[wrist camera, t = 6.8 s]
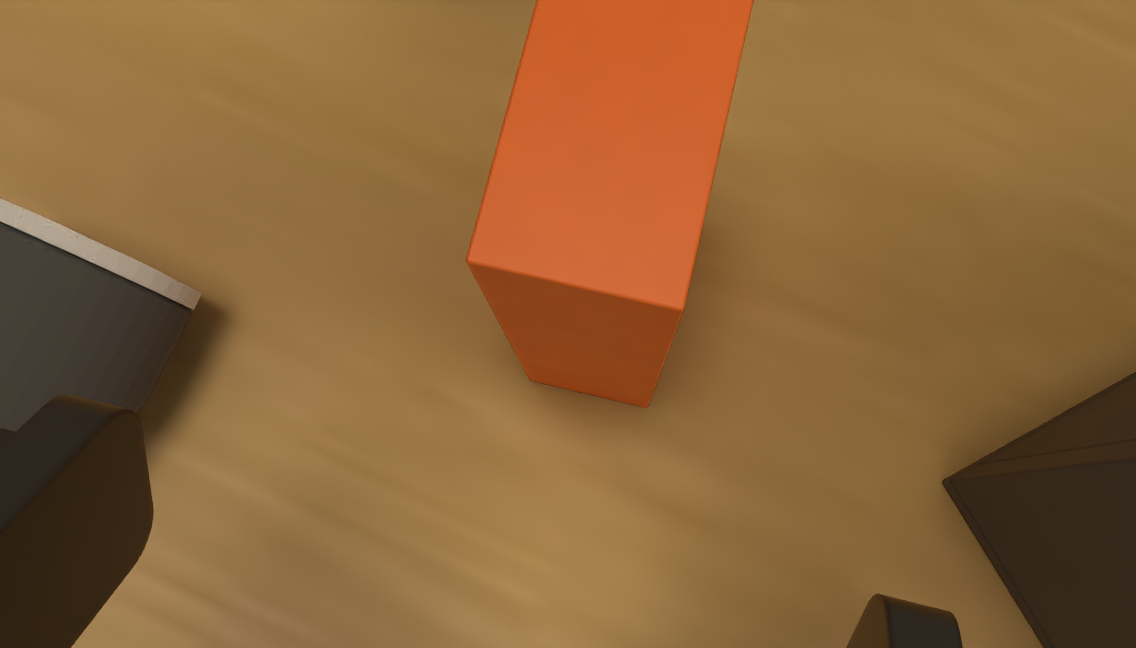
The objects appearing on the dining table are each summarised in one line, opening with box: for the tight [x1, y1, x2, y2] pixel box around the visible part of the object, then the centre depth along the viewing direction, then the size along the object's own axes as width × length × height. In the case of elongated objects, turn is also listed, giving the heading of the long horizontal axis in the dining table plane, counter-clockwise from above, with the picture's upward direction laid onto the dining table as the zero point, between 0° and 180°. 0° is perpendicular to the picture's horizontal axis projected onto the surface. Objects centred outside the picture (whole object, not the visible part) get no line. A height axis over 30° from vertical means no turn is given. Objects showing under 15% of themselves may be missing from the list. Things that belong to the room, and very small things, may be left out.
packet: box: [466, 0, 754, 408], centre depth 19 cm, size 5×3×11 cm, turn 166°
